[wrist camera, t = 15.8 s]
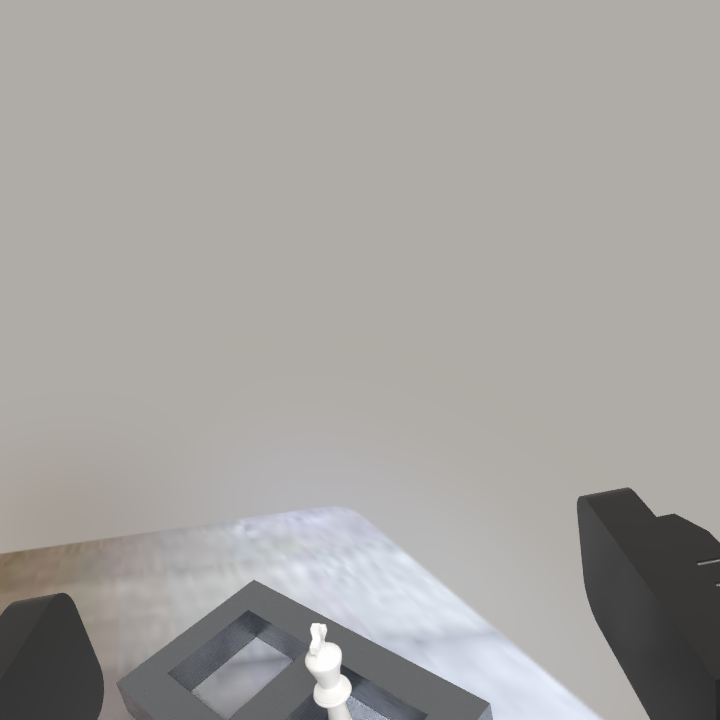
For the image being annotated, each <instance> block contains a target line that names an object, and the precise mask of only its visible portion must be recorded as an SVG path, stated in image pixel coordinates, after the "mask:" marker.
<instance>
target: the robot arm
mask: <svg viewBox="0 0 720 720" xmlns="http://www.w3.org/2000/svg"><path fill="white" fill-rule="evenodd" d="M577 514H578V525H579V534H580V545H581V556H582V565H583V576H584V583H585V589H586V593H587V597H588V601H589V604H590V607H591V610H592V612H593V615H594V617H595V620H596V622H597V624H598V626H599V627H600V629H601V631H602V632H603V634H604V636H605V638H606V640H607V642H608V644H609V646H610V647H611V649H612V651H613V653H614V655H615V656H616V658H617V660H618V662H619V664H620V665H621V667H622V669H623V670H624V673H625V674H626V676H627V678H628V680H629V681H630V683H631V685H632V687H633V689H634V691H635V692H636V694H637V696H638V698H639V700H640V701H641V703H642V705H643V707H644V709H645V710H646V712H647V714H648V716H649V718H650V720H720V543H719V542H718V541H717V540H716V539H715V538H714V537H713V536H712V535H711V533H710V532H709V531H707V530H705V529H703V528H701V527H699V526H697V525H695V524H693V523H692V522H690V521H688V520H686V519H684V518H682V517H680V516H678V515H676V514H670V515H665V516H660V517H656V516H655V515H654V514H653V512H652V511H651V510H650V509H649V508H648V507H647V506H646V505H645V503H644V502H643V501H642V500H641V499H640V498H639V497H638V495H637V494H636V493H635V492H634V491H633V490H632V489H630V488H622V489H617V490H611V491H606V492H601V493H595V494H590V495H585V496H580V497H579V498H578V501H577ZM103 695H104V681H103V674H102V670H101V667H100V664H99V662H98V660H97V657H96V655H95V652H94V650H93V647H92V645H91V642H90V640H89V637H88V635H87V633H86V630H85V628H84V625H83V623H82V620H81V618H80V615H79V613H78V611H77V608H76V606H75V604H74V602H73V600H72V599H71V597H70V596H69V595H67V594H65V593H58V594H53V595H47V596H42V597H37V598H32V599H26V600H21V601H16V602H13V603H11V604H10V605H9V606H8V607H7V608H6V609H5V611H4V612H3V613H2V615H1V616H0V720H97V719H98V717H99V714H100V711H101V708H102V703H103Z"/></svg>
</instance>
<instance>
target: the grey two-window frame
mask: <svg viewBox="0 0 720 720" xmlns="http://www.w3.org/2000/svg"><path fill="white" fill-rule="evenodd" d="M312 623H320V624H326V628H327V633H326V636H325V639H324V640H325V642H331V643H334V644H336V645H338V646H339V648H340V649H341V652H342V661H341V666H340V674H342V675H344V676H345V677H347V679H348V680H349V681H350V683H351V686H352V690H351V694H350V695H351V696H353V697H354V698H356V699H358V700H359V701H361V702H362V703H364V704H366V705H367V706H369V707H370V708H372V709H374V710H375V711H377V712H379V713H380V714H382V715H383V716H385V717H387V718H388V719H390V720H493V718H492V712H491V706H490V703H488V702H487V701H485V700H483V699H481V698H479V697H477V696H475V695H473V694H471V693H469V692H467V691H466V690H464V689H462V688H460V687H458V686H456V685H454V684H452V683H450V682H448V681H446V680H444V679H443V678H441V677H439V676H437V675H435V674H433V673H431V672H429V671H427V670H425V669H423V668H422V667H420V666H418V665H416V664H414V663H412V662H410V661H408V660H406V659H404V658H402V657H401V656H399V655H397V654H395V653H393V652H391V651H389V650H387V649H385V648H383V647H381V646H379V645H378V644H376V643H374V642H372V641H370V640H368V639H366V638H364V637H362V636H360V635H358V634H357V633H355V632H353V631H351V630H349V629H347V628H345V627H343V626H341V625H339V624H337V623H336V622H334V621H332V620H330V619H328V618H326V617H324V616H322V615H320V614H318V613H316V612H314V611H313V610H311V609H309V608H307V607H305V606H303V605H301V604H299V603H297V602H295V601H293V600H292V599H290V598H288V597H286V596H284V595H282V594H280V593H278V592H276V591H274V590H272V589H271V588H269V587H267V586H265V585H263V584H261V583H259V582H257V581H255V580H253V581H252V582H250V583H249V584H248V585H246V586H245V587H244V588H242V589H241V590H240V591H238V592H237V593H236V594H234V595H233V596H232V597H230V598H229V599H228V600H226V601H225V602H224V603H222V604H221V605H220V606H218V607H217V608H216V609H214V610H213V611H212V612H210V613H209V614H208V615H206V616H205V617H204V618H202V619H201V620H200V621H198V622H197V623H196V624H194V625H193V626H192V627H190V628H189V629H188V630H186V631H185V632H184V633H182V634H181V635H180V636H178V637H177V638H176V639H174V640H173V641H172V642H170V643H169V644H168V645H166V646H165V647H164V648H162V649H161V650H160V651H158V652H157V653H156V654H154V655H153V656H152V657H150V658H149V659H148V660H146V661H145V662H144V663H142V664H141V665H140V666H138V667H137V668H136V669H134V670H133V671H132V672H130V673H129V674H128V675H126V676H125V677H124V678H122V679H121V680H120V681H118V682H117V686H118V688H119V691H120V693H121V695H122V698H123V700H124V703H125V705H126V708H127V710H128V712H129V713H130V714H131V715H132V716H133V717H134V718H135V719H136V720H223V719H222V718H221V717H220V716H219V715H217V714H216V713H215V712H214V711H212V710H211V709H210V708H209V707H208V706H206V705H205V704H204V703H203V702H201V701H200V700H199V699H198V698H197V697H195V696H194V695H193V694H192V693H191V692H190V691H191V690H192V689H194V688H195V687H196V686H197V685H198V684H200V683H201V682H202V681H203V680H204V679H206V678H207V677H208V676H209V675H210V674H212V673H213V672H214V671H215V670H217V669H218V668H219V667H220V666H221V665H223V664H224V663H225V662H226V661H227V660H229V659H230V658H231V657H232V656H233V655H235V654H236V653H237V652H238V651H239V650H241V649H242V648H243V647H244V646H245V645H247V644H248V643H249V642H250V641H252V640H253V639H254V638H255V637H258V638H260V639H261V640H263V641H264V642H266V643H268V644H269V645H271V646H272V647H274V648H276V649H277V650H279V651H281V652H282V653H284V654H285V655H287V656H289V657H290V658H292V659H293V660H294V661H293V662H292V663H291V664H290V665H289V666H288V667H287V668H285V669H284V670H283V671H282V672H281V673H280V674H279V675H278V676H277V677H276V678H274V679H273V680H272V681H271V682H270V683H269V684H268V685H267V686H266V687H265V688H263V689H262V690H261V691H260V692H259V693H258V694H257V695H256V696H255V697H253V698H252V699H251V700H250V701H249V702H248V703H247V704H246V705H245V706H244V707H242V708H241V709H240V710H239V711H238V712H237V713H236V714H235V715H234V716H232V717H231V718H230V719H229V720H325V719H326V718H327V717H328V710H327V708H324V707H321V706H319V705H318V704H317V703H316V702H315V700H314V697H313V694H314V688H315V685H316V684H317V682H318V681H317V680H316V678H315V677H314V676H313V675H312V674H311V673H310V671H309V670H308V669H307V667H306V664H305V657H306V655H307V653H308V651H309V650H310V645H311V642H312V639H313V638H312V634H311V631H310V628H311V626H312Z"/></svg>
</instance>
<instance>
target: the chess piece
mask: <svg viewBox="0 0 720 720" xmlns="http://www.w3.org/2000/svg"><path fill="white" fill-rule="evenodd" d="M310 631H311V634H312V638H313V639H312V642H311V645H310V650H309V651H308V653H307V655H306V657H305V664H306V667H307V669H308V670H309V671H310V673H311V674H312V675H313V676H314V677H315V678H316V680H317V681H318V682H317V684H316V685H315V688H314V694H313V697H314V700H315V702H316V703H317V704H318V705H319V706H321V707H324V708H327V710H328V716H329V720H353V719H352V717H351V714H350V712H349V710H348V707H347V705H346V702H345V701H346V700H347V699H348V698H349V696H350V694H351V690H352V686H351V683H350V681H349V680H348V679H347V677H345V676H344V675H342V674H340V666H341V661H342V652H341V649H340V648H339V646H338V645H336V644H334V643H331V642H325V640H324V639H325V636H326V633H327V628H326V624H320V623H312V626H311V628H310Z"/></svg>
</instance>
